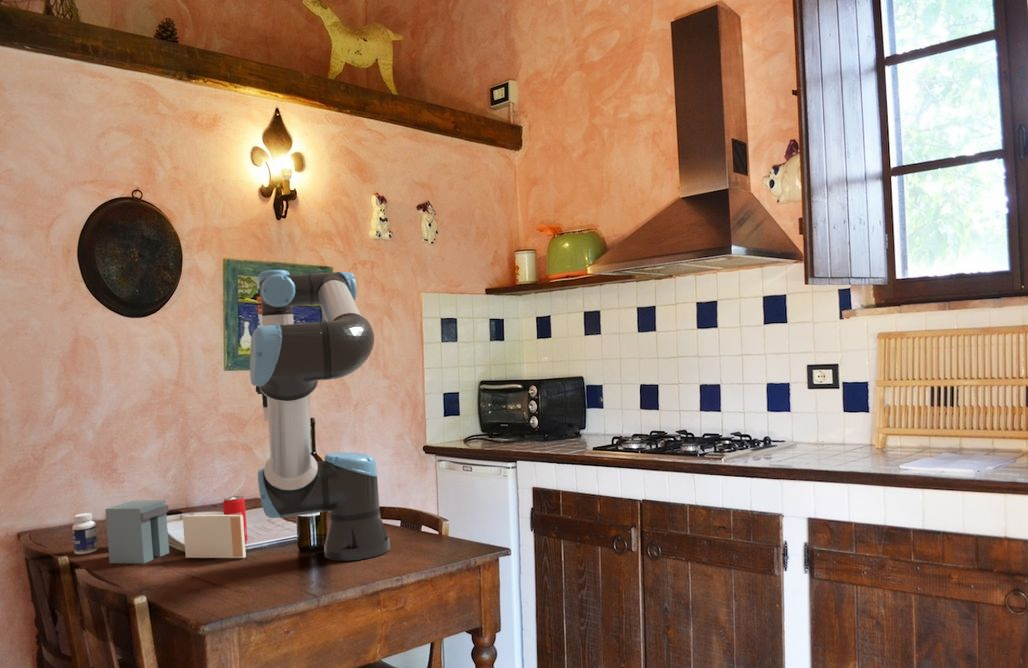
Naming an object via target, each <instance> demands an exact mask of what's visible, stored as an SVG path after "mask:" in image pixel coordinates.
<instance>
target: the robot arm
mask: <svg viewBox="0 0 1028 668" xmlns="http://www.w3.org/2000/svg"><path fill="white" fill-rule="evenodd" d="M258 280H259V281H258V287H259V293H260V294H259V297H260V306H261V308H260V309H261V319H262V326H261V325H260V326H259V327H257V328H255V330H253V332H252V335H251V339H250V351H249V353H250V354H249V355H250V358H249V359H250V360H249V372H250V373H249V374H250V375H249V377H250V383H251V385H253V386H255V392H256V393H257V395H261V398H262V407H263V418H264V420H263V421H264V422H268V435H269V436H268V438H269V455H270V456H269V458H268V460H267V461H266V463H265V465H264V467H262V468H259V470H257V482H258V491H259V496H260V501H261V506H262V510H263V513H264V515H265V516H266V517H267V518H269V519H279V518H280V519H281V518H282V519H286V518H290V517H298V516H302V515H303V516H304V515H310V514H317V513H325V512H328V513H329V525H328V528H327V532H326V533H327V534H326V538H325V543H324V547H323V548H324V550H323V551H324V557H325V558H326V559H327V560H330V561H338V562H339V561H341V562H342V561H344V562H346V561H348V562H349V561H350V562H351V561H359V560H364V559H365V560H366V559H371V558H374V557H378V556H381V555H383V554H386V553H388V551H389V550H390V549H391V542H390V537H389V534H388V532H387V530H386V527H385V525H384V522H383V520H382V518H381V510H380V497H379V485H378V476H379V473H378V471H377V462H376V459H375V457H373V456H372V455H370V454H367V453H360V452H333V453H332V452H330V453H326V454H325V456H324V460H321V461H320V460H319V461H317V459H315V456H314V455H312V452H311V451H312V450H311V395H312V394H313V392H314V391H315V390H316V389H317V386H318V382H319V381H326V380H335V379H337V380H338V379H341V378H343V377H344V378H345V377H346V376H349V375H350V374H352V373H354V372H355V371H357V370H358V369H359V368H360V367H361V366H362V365H364V363H365V362H366V361H368V358H369V357H370V355H371V353H372V351H373V348H374V345H375V333H374V329H373V328H372V325H371V323H370V322H369V321H368V319H367V318H366V317H364V316H363V315H361V312H360V311H359V308H358V307H357V304H356V302H355V301H356V299H357V282H356V277H355V275H354V274H353V273H352V272H346V271H345V272H344V271H336V272H335V271H334V272H320V273H305V274H304V273H298V274H290V272H289V271H288V270H286V269H285V270H284V269H271V270H270V269H269V270H263V271H261V272H260V273H259V275H258ZM314 305H315V306H316V305H317V306H318V305H320V308H321V311H322V314H323V317H324V320H325V321H312V322H300V323H294V322H295V321H294V313H293V312H294V311H293V307H299V306H301V307H302V306H314Z"/></svg>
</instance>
